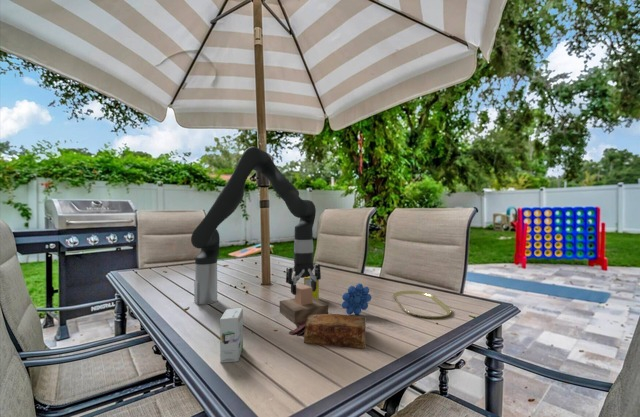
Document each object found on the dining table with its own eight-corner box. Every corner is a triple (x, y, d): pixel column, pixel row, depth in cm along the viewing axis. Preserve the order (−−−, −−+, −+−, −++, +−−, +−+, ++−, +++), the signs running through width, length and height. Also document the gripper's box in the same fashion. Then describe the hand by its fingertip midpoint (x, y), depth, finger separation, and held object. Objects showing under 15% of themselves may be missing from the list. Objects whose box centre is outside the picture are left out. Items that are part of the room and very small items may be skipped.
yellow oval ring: (408, 320, 109) (408, 316, 109) (389, 293, 144) (389, 290, 144) (459, 320, 109) (459, 316, 109) (428, 294, 144) (428, 290, 144)
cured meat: (295, 322, 108) (295, 303, 108) (365, 325, 104) (365, 306, 104) (281, 345, 90) (281, 323, 90) (365, 351, 86) (365, 327, 86)
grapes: (368, 310, 119) (368, 280, 119) (373, 316, 112) (372, 284, 113) (340, 311, 118) (339, 281, 118) (342, 317, 111) (342, 285, 112)
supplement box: (319, 298, 136) (318, 274, 136) (317, 302, 130) (317, 277, 130) (306, 298, 137) (306, 274, 137) (304, 302, 131) (304, 277, 131)
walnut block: (294, 325, 105) (294, 311, 105) (279, 313, 118) (279, 301, 118) (328, 318, 112) (328, 304, 112) (310, 307, 125) (310, 295, 125)
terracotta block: (301, 305, 112) (301, 289, 112) (294, 302, 116) (294, 286, 116) (312, 303, 115) (312, 287, 115) (305, 299, 119) (305, 284, 119)
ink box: (226, 348, 87) (226, 308, 87) (243, 347, 88) (243, 307, 88) (219, 363, 79) (219, 318, 79) (238, 362, 79) (238, 317, 79)
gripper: (314, 248, 123) (314, 287, 122) (282, 251, 115) (283, 293, 115) (324, 250, 116) (324, 292, 116) (291, 253, 108) (291, 298, 108)
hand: (303, 292), depth 115 cm, fingers open, 8 cm apart
